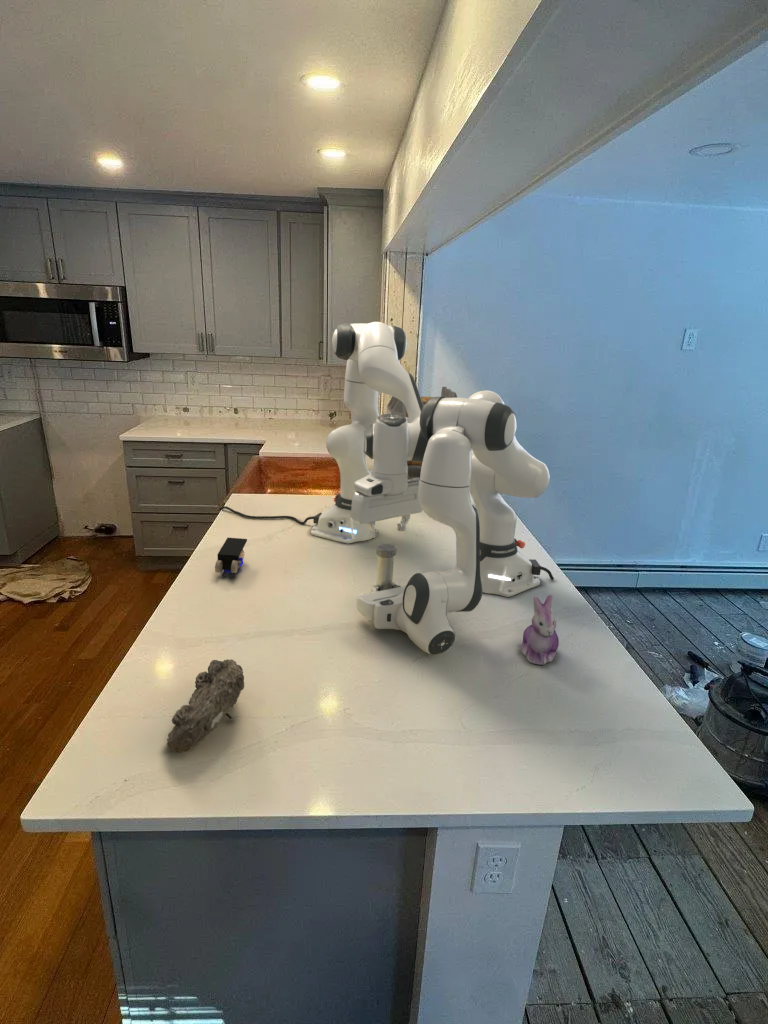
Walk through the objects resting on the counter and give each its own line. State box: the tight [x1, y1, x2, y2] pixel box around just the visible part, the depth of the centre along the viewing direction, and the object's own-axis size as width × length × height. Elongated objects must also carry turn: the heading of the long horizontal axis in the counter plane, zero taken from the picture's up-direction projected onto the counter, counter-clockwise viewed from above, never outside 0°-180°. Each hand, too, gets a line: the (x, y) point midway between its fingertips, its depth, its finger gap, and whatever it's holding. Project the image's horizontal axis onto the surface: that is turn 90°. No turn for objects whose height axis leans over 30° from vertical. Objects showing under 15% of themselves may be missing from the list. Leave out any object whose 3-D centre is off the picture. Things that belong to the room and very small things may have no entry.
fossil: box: [166, 658, 245, 754], centre depth 106 cm, size 22×10×15 cm
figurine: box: [521, 594, 560, 666], centre depth 130 cm, size 9×10×15 cm
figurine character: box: [214, 537, 248, 578], centre depth 166 cm, size 7×8×15 cm
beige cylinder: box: [376, 555, 395, 591], centre depth 149 cm, size 4×4×17 cm
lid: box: [376, 542, 397, 558], centre depth 146 cm, size 5×5×2 cm
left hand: (387, 533), depth 144 cm, fingers open, 7 cm apart
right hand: (382, 586), depth 150 cm, fingers closed on beige cylinder, 4 cm apart
